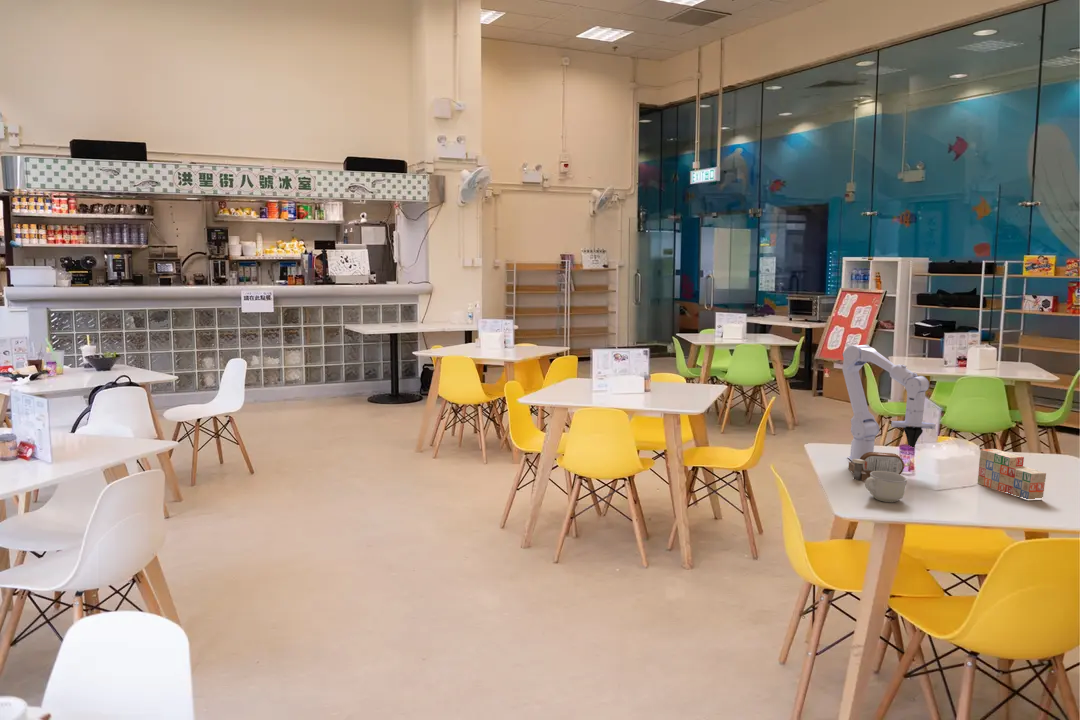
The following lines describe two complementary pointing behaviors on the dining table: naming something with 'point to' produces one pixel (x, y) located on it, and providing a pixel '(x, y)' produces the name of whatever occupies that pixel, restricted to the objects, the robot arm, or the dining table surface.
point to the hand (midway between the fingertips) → (911, 447)
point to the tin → (882, 462)
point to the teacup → (886, 485)
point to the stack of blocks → (1009, 474)
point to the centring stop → (859, 470)
